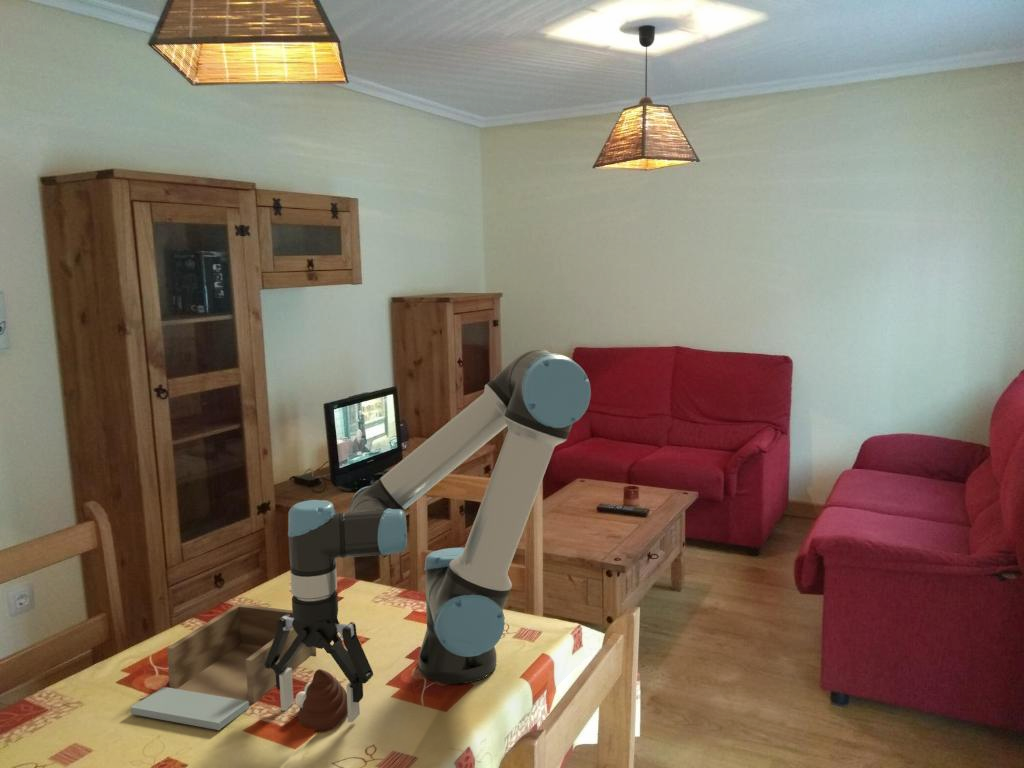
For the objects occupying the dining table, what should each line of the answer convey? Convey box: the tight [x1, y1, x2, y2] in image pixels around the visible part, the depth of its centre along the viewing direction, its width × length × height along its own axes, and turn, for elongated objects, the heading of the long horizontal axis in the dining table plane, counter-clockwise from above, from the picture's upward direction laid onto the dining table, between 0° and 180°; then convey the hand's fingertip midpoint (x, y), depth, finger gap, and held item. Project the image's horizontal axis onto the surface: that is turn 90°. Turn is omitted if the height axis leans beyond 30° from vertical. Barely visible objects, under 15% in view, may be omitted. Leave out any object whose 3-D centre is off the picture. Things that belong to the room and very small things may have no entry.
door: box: [130, 686, 250, 731], centre depth 136 cm, size 1×18×8 cm
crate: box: [166, 603, 317, 704], centre depth 150 cm, size 20×18×9 cm
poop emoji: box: [294, 668, 348, 733], centre depth 135 cm, size 10×8×9 cm
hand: (320, 712), depth 135 cm, fingers open, 12 cm apart
